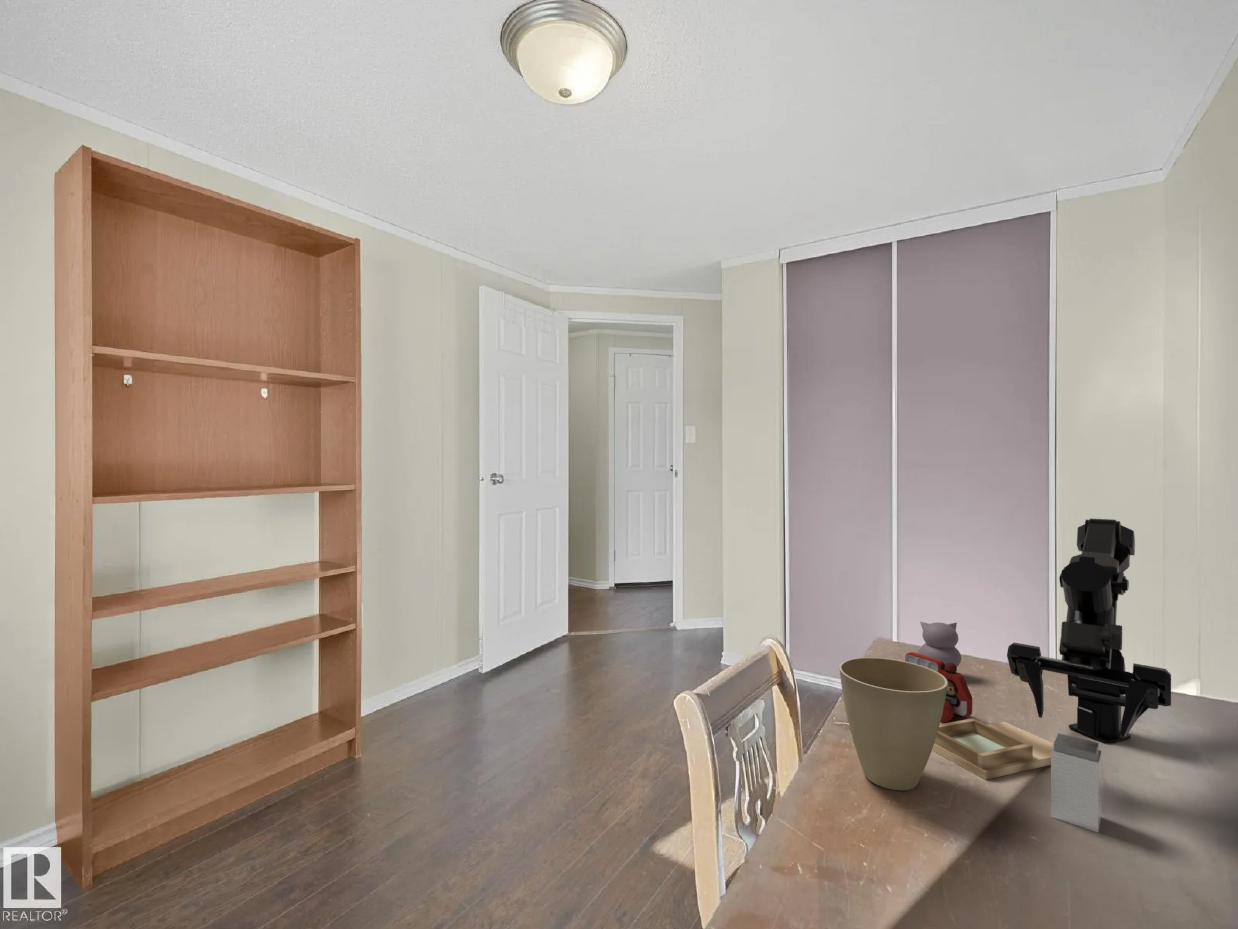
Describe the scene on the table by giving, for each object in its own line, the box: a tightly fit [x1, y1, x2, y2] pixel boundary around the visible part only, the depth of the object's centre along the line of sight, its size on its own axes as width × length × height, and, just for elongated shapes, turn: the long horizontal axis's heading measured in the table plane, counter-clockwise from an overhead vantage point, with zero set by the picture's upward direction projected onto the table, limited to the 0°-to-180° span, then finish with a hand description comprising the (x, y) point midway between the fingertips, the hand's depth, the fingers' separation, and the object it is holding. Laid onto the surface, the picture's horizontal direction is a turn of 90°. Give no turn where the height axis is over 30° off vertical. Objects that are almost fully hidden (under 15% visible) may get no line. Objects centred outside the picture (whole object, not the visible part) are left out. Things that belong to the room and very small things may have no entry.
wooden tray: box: [932, 717, 1054, 781], centre depth 99 cm, size 19×12×3 cm, turn 109°
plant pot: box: [838, 656, 948, 792], centre depth 90 cm, size 15×15×16 cm
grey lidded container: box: [1050, 733, 1103, 833], centre depth 80 cm, size 4×5×10 cm
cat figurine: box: [918, 621, 962, 679], centre depth 134 cm, size 8×8×12 cm
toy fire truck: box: [904, 651, 973, 724], centre depth 114 cm, size 7×12×10 cm, turn 32°
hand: (1079, 725), depth 84 cm, fingers open, 9 cm apart
